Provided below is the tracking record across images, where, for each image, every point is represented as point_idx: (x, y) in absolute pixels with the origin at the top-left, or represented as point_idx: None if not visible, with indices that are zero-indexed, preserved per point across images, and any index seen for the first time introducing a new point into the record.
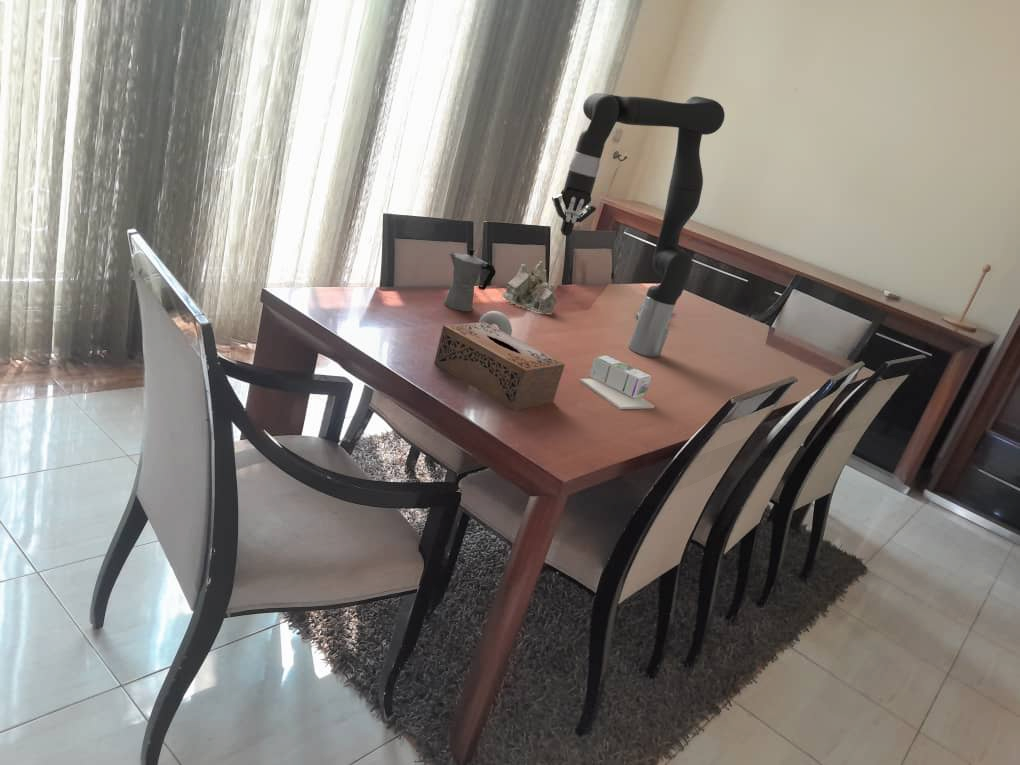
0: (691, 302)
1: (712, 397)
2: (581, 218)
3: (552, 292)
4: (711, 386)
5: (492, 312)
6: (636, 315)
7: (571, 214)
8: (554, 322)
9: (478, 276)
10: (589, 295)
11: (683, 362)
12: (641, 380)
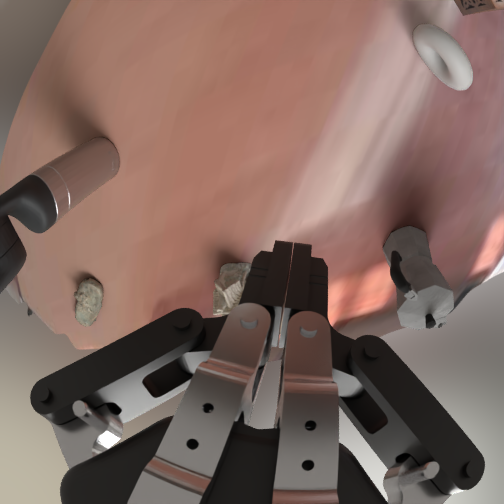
0: (68, 335)
1: (61, 27)
2: (169, 335)
3: (219, 300)
4: (49, 71)
5: (469, 63)
6: (102, 290)
7: (252, 391)
8: (229, 232)
9: (408, 275)
10: None
11: (60, 147)
12: None
